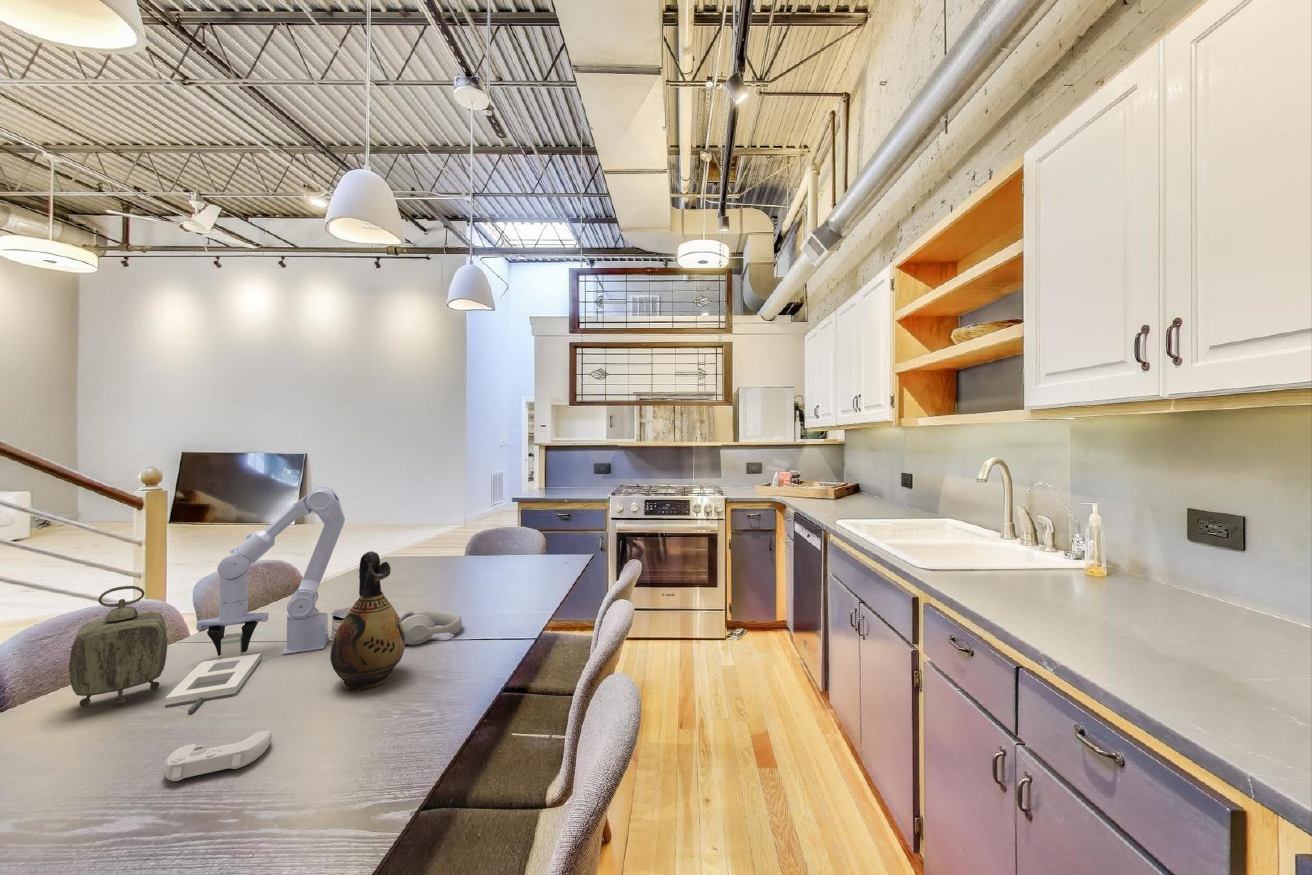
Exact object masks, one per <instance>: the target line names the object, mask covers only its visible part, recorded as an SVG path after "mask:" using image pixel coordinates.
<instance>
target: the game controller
mask: <svg viewBox="0 0 1312 875" xmlns="http://www.w3.org/2000/svg"><path fill="white" fill-rule="evenodd" d="M272 737H273V736H272V733H271V731H270V730H260V731H257V732H255V733H253V734H251V735H250V736H248V737H247V738H246V739H244V740H241V741H238V742H235V743H231V744H230V743H229V744H223V745H218V746H214V747H213V746H212V747H209V748H206V747H204V744H197V743H196V742H195V743H191V744H186V745H183V746H181V747H178V748H177V749H175V750H173V752H171V754H169V756H168V757H167V758H166V760H165V762H164V764H163V769H162V770H163V775H164V777H165V778H166V779H167V780H170V781H171V782H178V781H181V780H183V779H187V778H191V777H195V776H199V775H205V774H209V773H213V772H218V771H223V770H226V769H227V770H228V769H233V770H236V769H239V768H243V767H245V766H248V765H249V764H251V763H253V762H255V761H256V760H257V759H258V758H259V757H260V756H261V755H263V754H264V753H265V752H266V750H267V749H268V747H269V745H270V744H271V743H272V742H271V741H272Z"/></svg>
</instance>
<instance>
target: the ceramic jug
mask: <svg viewBox="0 0 1312 875" xmlns="http://www.w3.org/2000/svg"><path fill="white" fill-rule="evenodd" d="M359 561H360V562H359V569H358V574H359V575H358V579H359V590H358V593H359V595H358V596H359V598H358V599H357V600H356V601H355V603H353V607H352V606H351V607H352V608H351V609H350V610H349V612H348V614H347V615H346V617H345V618H344V619H343V621H342V623H341V624H340V626H339V628H338V630H337V632H336V634H335V637H334V640H333V644H332V643H331V648H330V656H329V657H330V663H331V666H332V669H333V671H334V673H336V674H337V676H338V678H340V679H341V680H342V681H343V686H344V688H345V689H346V690H347V691H349V692H351V691H352V692H355V691H368V690H371V689H372V690H373V689H375V688H376V687H378V686H381V685H384V684H385V683H386V682H387V681H388V679H389V676H390V675H391V673H392V671H393V670H394V669H395V668H396V666H398V664H399V663H400V661H401V660H402V657H403V655H404V653H405V648H406V643H405V636H404V634H405V632H404V629H403V625H402V623H401V620H400V617H399V616H398V614H397V612H396V610H395V608H394V607H393V606H392V604H391V602H390V601H389V600H388V598H387V597H386V595H385V594H384V592H383V591H382V588H381V581H382V580H385V579H386V578H388V577H389V576H390V575H391V570H392V569H391V566H390V564H389V562H388V561H383V562H382V563H381V559H380V555H379V554H378V552H375V551H373V550H371V551H367V552H366V553H364V554H363V555H362V556H361V558H360V560H359Z"/></svg>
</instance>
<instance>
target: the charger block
mask: <svg viewBox="0 0 1312 875" xmlns="http://www.w3.org/2000/svg"><path fill="white" fill-rule="evenodd" d="M242 646H243V635H242V632H236V633H228V634H227V633H226V634H224V637H223V638H222V639H221V655H220V659H225V658H232V657H239V656H246V652H242Z"/></svg>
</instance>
